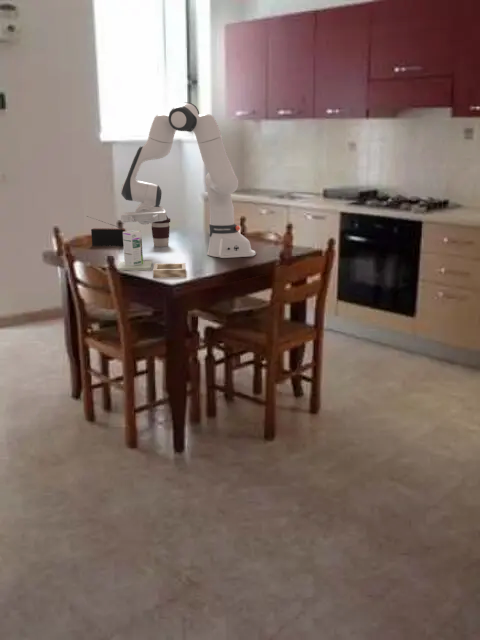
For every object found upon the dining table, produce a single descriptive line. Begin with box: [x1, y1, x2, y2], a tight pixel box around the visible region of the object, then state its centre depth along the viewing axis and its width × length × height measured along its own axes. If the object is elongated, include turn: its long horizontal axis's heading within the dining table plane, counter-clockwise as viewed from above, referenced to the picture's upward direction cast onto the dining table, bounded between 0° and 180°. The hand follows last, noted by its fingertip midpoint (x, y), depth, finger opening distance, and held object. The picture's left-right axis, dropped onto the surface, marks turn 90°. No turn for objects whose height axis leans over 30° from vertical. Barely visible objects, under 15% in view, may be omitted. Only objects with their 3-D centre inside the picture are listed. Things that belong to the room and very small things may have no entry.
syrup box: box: [123, 229, 144, 266], centre depth 310 cm, size 6×6×14 cm
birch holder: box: [152, 262, 187, 278], centre depth 299 cm, size 13×13×3 cm
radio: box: [86, 215, 126, 247], centre depth 363 cm, size 19×3×15 cm, turn 84°
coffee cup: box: [151, 214, 171, 248], centre depth 361 cm, size 10×10×15 cm
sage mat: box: [116, 260, 153, 272], centre depth 312 cm, size 14×14×1 cm
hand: (143, 218), depth 320 cm, fingers open, 8 cm apart
